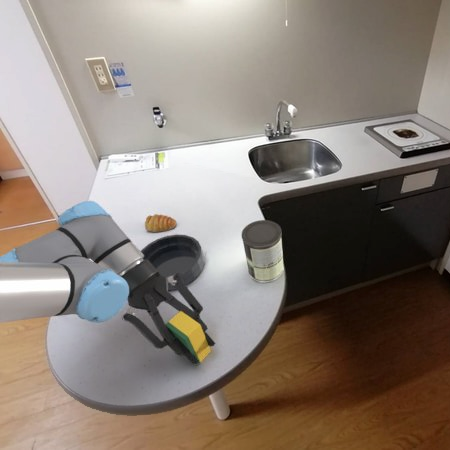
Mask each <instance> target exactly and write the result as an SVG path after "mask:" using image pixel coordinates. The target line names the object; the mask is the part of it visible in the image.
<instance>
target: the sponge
mask: <svg viewBox="0 0 450 450" xmlns="http://www.w3.org/2000/svg"><path fill="white" fill-rule="evenodd" d="M165 324H166V326H167V328H168V330H169V332H170V333H171V335H172V337H173V339H176V338H178V339H179V340H180V341H181V342H182V343H183V344H184V345H185V346H186V347H187V349H188V350H189V351H190V352H191V353H192V354H193V355H194V356H195V357H196V358H197V359H198V361H199V362H198V363H197V364H195V365H196V366H199V365H200V363H202V362H203V361H204V360H205V358H206V357H207V356H208V355H209V354H211V352H212V350H211V346H209V345H208V342H207V340H206V338H205V335H204V333H203V330H202V328H201V325H200V324H199V323H197V322H196V321H195V320H193V319H192V318H190V317H189V316H188V315H186V314H185V313H183V312H182V311H180V312H179V311H178V312H177V313H176V314H175V315H174V316H173V317H172V318H171V319H169V320H168V321H167V322H166V323H165ZM182 356H185V355H184V354H183V355H182Z"/></svg>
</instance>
